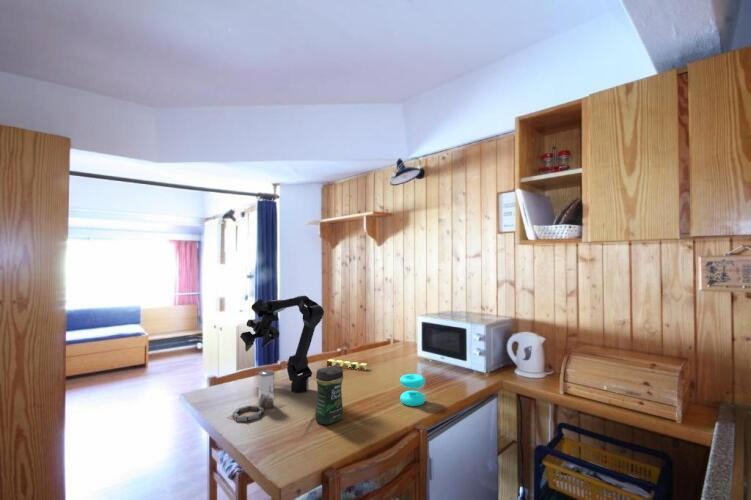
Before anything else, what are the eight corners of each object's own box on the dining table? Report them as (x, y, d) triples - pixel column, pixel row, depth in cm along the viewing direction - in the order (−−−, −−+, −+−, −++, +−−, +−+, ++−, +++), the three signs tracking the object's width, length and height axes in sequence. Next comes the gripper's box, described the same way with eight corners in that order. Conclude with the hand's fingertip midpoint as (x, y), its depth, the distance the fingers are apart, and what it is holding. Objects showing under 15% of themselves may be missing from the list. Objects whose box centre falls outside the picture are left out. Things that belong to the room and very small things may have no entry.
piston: (275, 404, 133) (276, 370, 134) (270, 410, 128) (270, 374, 128) (262, 403, 134) (262, 370, 134) (255, 409, 128) (256, 374, 129)
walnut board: (266, 402, 138) (266, 399, 138) (287, 407, 133) (287, 404, 133) (226, 421, 122) (226, 417, 122) (247, 428, 116) (247, 424, 116)
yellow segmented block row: (335, 359, 204) (335, 353, 204) (385, 365, 191) (385, 358, 191) (303, 375, 174) (303, 368, 174) (360, 383, 162) (360, 375, 162)
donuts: (429, 379, 136) (407, 382, 132) (430, 404, 135) (407, 409, 131) (417, 371, 145) (395, 374, 141) (417, 395, 145) (396, 399, 141)
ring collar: (267, 410, 128) (267, 406, 128) (255, 422, 118) (255, 417, 118) (241, 409, 129) (241, 405, 129) (227, 421, 119) (228, 416, 119)
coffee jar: (326, 427, 116) (326, 372, 117) (311, 420, 122) (312, 367, 123) (347, 418, 123) (347, 366, 124) (332, 412, 129) (332, 362, 130)
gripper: (272, 310, 173) (261, 334, 178) (240, 315, 158) (228, 341, 162) (285, 324, 168) (273, 349, 172) (252, 330, 152) (240, 357, 157)
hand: (254, 348), depth 166 cm, fingers open, 9 cm apart
